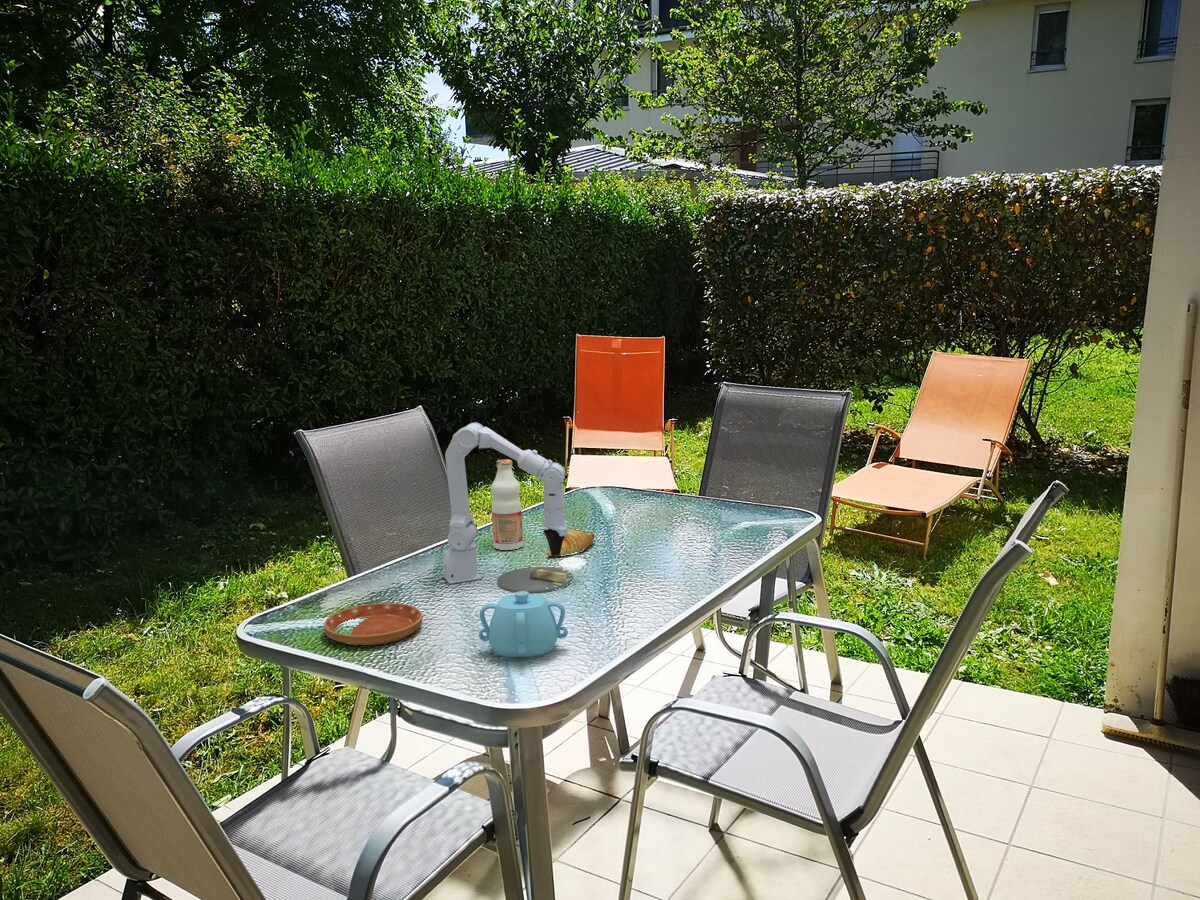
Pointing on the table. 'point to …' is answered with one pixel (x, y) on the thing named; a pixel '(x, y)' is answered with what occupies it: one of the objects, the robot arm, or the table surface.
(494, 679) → the table surface
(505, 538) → the fruit juice
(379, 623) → the saucer
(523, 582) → the dial
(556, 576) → the pointer
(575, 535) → the croissant
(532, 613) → the decorative pot
